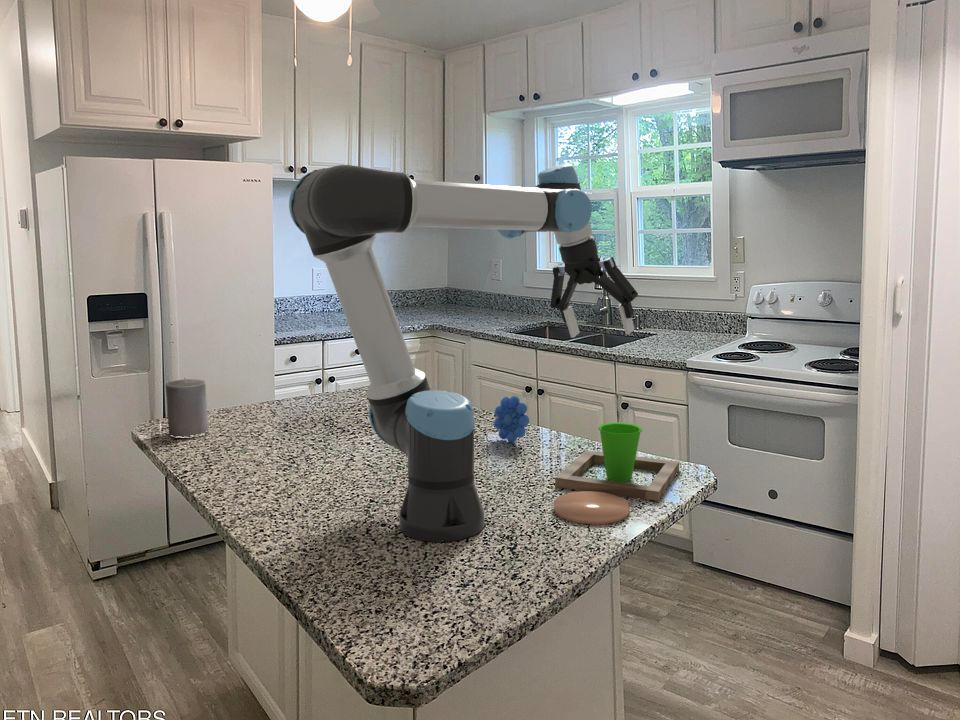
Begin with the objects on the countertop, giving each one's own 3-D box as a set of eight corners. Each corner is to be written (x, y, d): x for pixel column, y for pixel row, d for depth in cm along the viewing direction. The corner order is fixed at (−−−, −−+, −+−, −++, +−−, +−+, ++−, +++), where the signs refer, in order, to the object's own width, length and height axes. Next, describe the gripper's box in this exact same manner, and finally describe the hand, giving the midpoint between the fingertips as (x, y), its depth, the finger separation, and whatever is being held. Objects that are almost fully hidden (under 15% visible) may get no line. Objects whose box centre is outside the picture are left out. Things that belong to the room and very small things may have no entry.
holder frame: (658, 501, 147) (658, 491, 147) (555, 486, 156) (555, 477, 155) (679, 470, 166) (679, 461, 165) (585, 458, 175) (586, 450, 174)
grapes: (540, 443, 187) (540, 396, 185) (521, 449, 182) (521, 400, 180) (507, 434, 195) (507, 388, 193) (488, 439, 191) (487, 392, 189)
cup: (641, 486, 156) (642, 434, 154) (596, 484, 157) (597, 432, 155) (640, 473, 164) (642, 423, 162) (598, 470, 166) (599, 421, 164)
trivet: (617, 529, 134) (618, 522, 134) (542, 517, 140) (542, 510, 139) (637, 503, 146) (637, 497, 146) (567, 493, 152) (567, 487, 152)
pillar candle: (162, 435, 198) (157, 378, 195) (197, 427, 205) (193, 372, 202) (181, 442, 192) (176, 383, 189) (216, 433, 199) (212, 377, 196)
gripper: (637, 225, 152) (662, 322, 159) (535, 241, 168) (562, 329, 175) (620, 238, 147) (647, 338, 154) (517, 253, 163) (545, 343, 170)
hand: (602, 333), depth 164 cm, fingers open, 13 cm apart
